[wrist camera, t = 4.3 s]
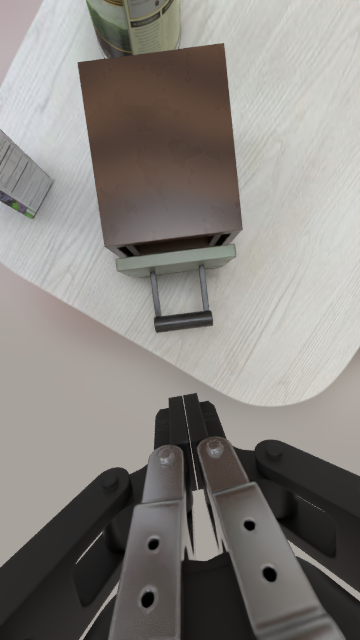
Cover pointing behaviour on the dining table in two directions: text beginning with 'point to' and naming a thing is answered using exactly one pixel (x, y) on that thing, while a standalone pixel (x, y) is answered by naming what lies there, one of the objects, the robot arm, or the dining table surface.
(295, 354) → the dining table surface
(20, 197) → the syrup box
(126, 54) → the coffee can
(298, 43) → the dining table surface
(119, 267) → the drawer
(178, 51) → the cabinet
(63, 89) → the dining table surface
